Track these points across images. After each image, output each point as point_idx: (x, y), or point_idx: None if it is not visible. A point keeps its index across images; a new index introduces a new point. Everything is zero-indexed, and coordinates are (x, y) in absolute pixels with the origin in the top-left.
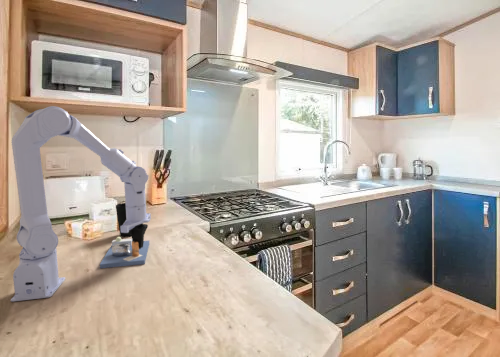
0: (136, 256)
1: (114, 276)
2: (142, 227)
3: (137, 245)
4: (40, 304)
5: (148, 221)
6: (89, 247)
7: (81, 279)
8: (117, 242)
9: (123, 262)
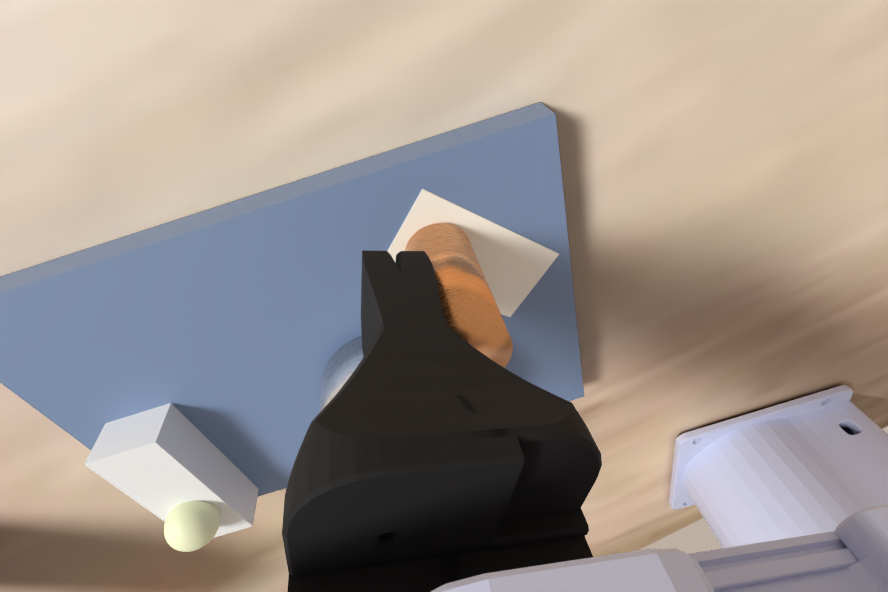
0: None
1: (726, 238)
2: (522, 474)
3: (479, 294)
4: (882, 379)
5: (649, 579)
6: (250, 565)
7: (699, 378)
8: (229, 500)
9: (570, 281)
